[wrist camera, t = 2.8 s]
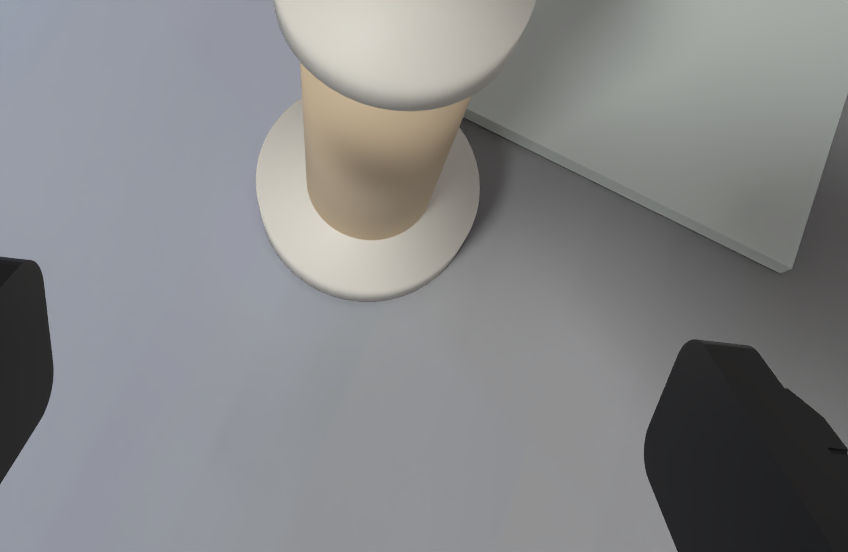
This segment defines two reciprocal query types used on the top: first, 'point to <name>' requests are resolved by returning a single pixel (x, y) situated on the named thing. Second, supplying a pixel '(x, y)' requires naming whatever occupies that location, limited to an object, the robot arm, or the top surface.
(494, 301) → the top surface
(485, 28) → the stool
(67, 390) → the top surface
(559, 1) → the mat
